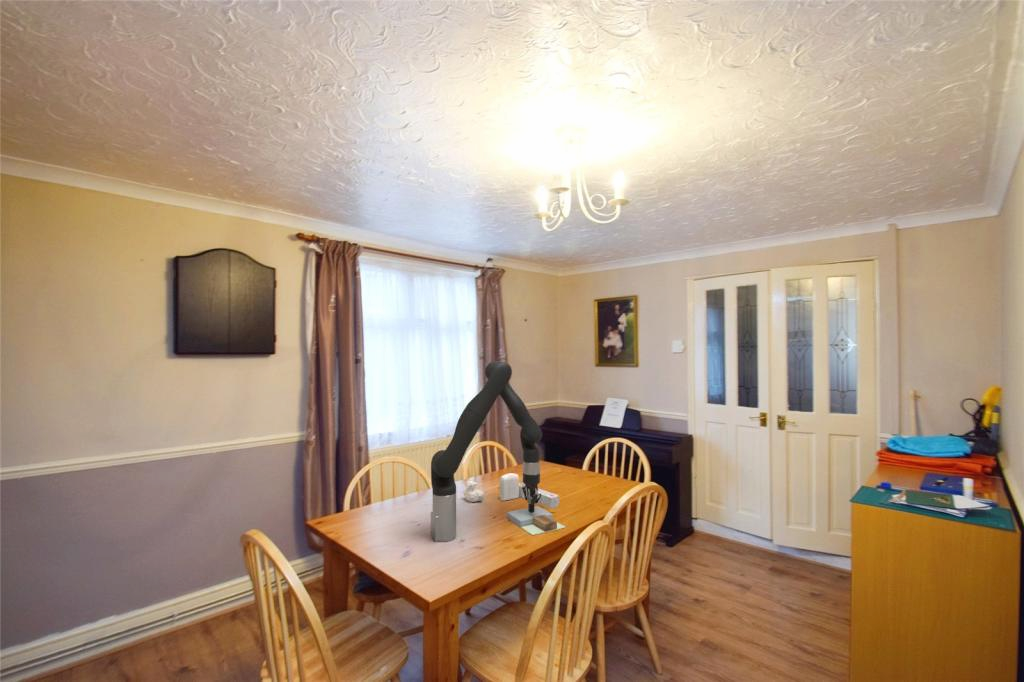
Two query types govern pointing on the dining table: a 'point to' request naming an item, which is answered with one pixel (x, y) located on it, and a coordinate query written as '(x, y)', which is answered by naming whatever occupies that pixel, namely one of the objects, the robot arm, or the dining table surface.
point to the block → (544, 523)
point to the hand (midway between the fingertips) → (531, 512)
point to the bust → (473, 492)
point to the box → (543, 497)
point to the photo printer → (509, 486)
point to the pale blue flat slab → (526, 516)
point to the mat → (535, 530)
